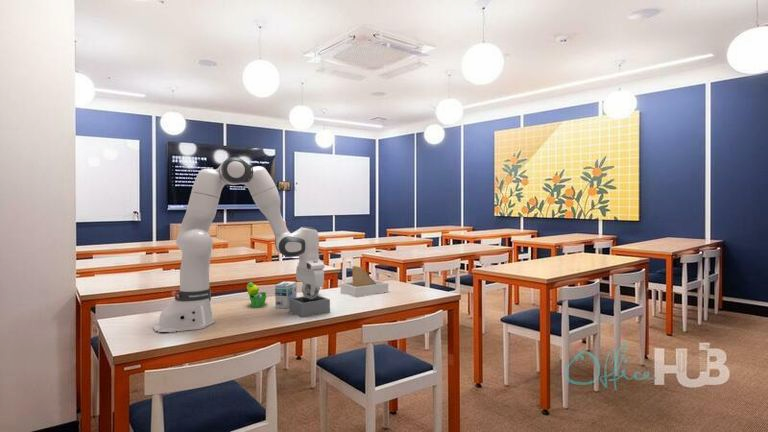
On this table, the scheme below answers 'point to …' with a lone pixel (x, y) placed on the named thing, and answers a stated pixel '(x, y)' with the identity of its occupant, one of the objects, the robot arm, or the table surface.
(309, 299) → the watch
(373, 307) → the table surface
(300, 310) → the crate
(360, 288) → the light grey tray
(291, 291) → the light bulb box
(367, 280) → the sandwich container
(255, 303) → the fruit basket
